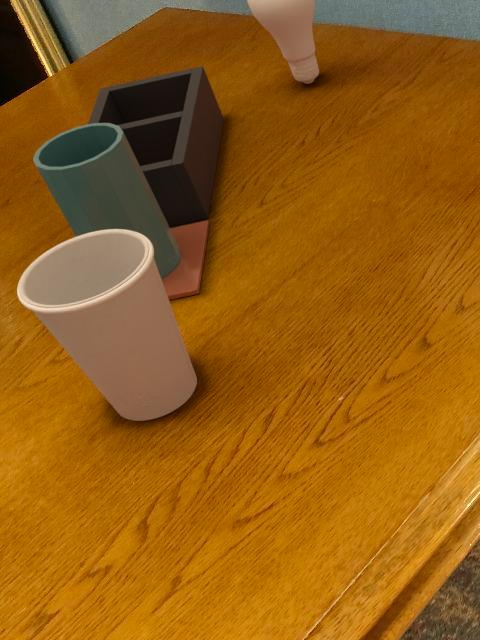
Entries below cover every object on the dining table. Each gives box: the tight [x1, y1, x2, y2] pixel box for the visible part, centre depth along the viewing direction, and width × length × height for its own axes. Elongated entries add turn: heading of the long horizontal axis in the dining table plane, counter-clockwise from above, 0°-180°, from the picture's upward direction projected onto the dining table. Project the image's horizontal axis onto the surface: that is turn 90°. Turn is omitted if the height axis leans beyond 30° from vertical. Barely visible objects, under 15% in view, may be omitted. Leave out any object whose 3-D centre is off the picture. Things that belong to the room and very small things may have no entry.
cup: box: [32, 123, 181, 279], centre depth 74 cm, size 6×6×10 cm
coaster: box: [161, 219, 211, 301], centre depth 78 cm, size 10×10×1 cm
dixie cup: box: [16, 229, 198, 422], centre depth 64 cm, size 8×8×10 cm
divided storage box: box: [87, 65, 225, 228], centre depth 87 cm, size 10×18×5 cm, turn 8°
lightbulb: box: [246, 0, 320, 85], centre depth 93 cm, size 6×6×11 cm
